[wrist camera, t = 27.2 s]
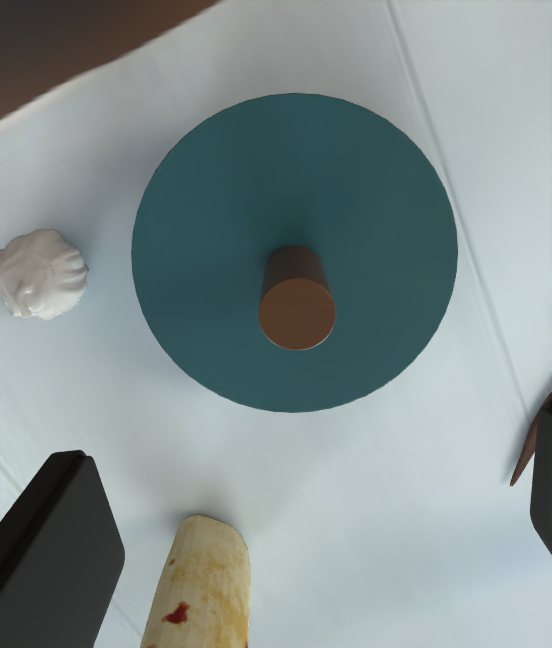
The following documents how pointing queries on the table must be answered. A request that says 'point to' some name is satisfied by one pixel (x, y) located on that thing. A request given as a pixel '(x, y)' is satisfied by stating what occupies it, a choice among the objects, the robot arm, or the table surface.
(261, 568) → the table surface
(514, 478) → the fork
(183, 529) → the food model
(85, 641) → the robot arm
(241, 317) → the lid
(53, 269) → the garlic
